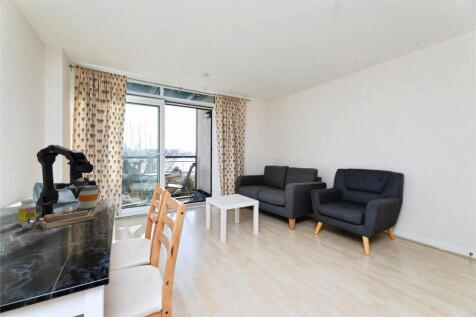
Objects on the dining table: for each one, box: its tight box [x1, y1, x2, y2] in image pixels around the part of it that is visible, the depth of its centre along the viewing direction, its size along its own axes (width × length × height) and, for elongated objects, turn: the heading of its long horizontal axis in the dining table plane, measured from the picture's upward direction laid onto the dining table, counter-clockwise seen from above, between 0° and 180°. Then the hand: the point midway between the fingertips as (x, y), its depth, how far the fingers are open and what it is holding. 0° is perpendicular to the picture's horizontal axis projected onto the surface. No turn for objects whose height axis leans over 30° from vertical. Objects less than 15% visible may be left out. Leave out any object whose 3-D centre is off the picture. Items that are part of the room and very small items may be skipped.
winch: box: [21, 217, 35, 232], centre depth 105 cm, size 6×4×7 cm
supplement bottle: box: [18, 198, 37, 226], centre depth 114 cm, size 7×7×13 cm
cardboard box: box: [43, 212, 63, 223], centre depth 113 cm, size 6×6×5 cm
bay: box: [38, 210, 95, 230], centre depth 118 cm, size 13×22×3 cm, turn 141°
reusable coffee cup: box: [77, 184, 100, 210], centre depth 147 cm, size 13×12×15 cm
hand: (76, 199), depth 121 cm, fingers closed
